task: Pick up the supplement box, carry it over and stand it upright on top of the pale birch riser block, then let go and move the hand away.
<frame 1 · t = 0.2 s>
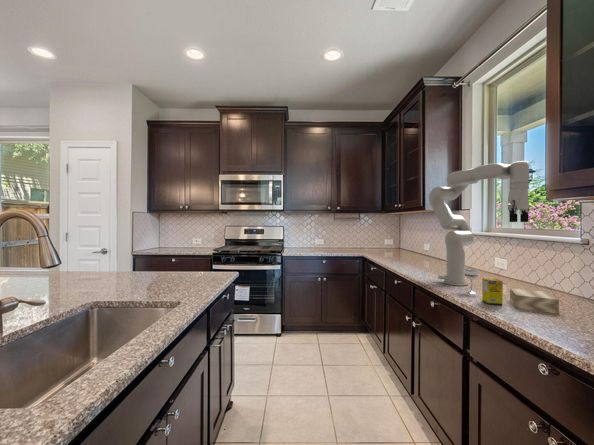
hand: (518, 221, 140), 37 cm above the counter, tool pointing down, fingers open, 9 cm apart
wineglass: (471, 292, 149), on the counter
riser block: (532, 307, 125), on the counter
supplement box: (492, 303, 129), on the counter
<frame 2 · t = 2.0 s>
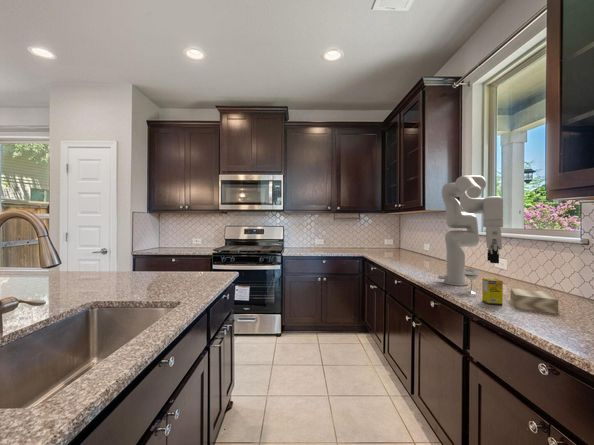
hand: (493, 261, 129), 19 cm above the counter, tool pointing down, fingers open, 9 cm apart
nothing on the counter moved.
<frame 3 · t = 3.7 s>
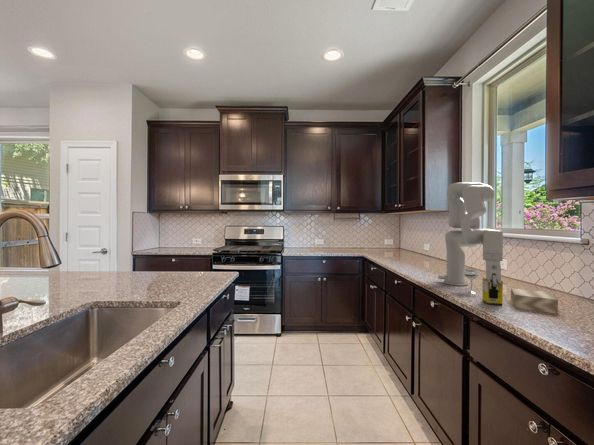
hand: (492, 295, 129), 3 cm above the counter, tool pointing down, fingers closed on supplement box, 7 cm apart
supplement box: (492, 303, 129), on the counter, touching gripper
everything else where it was.
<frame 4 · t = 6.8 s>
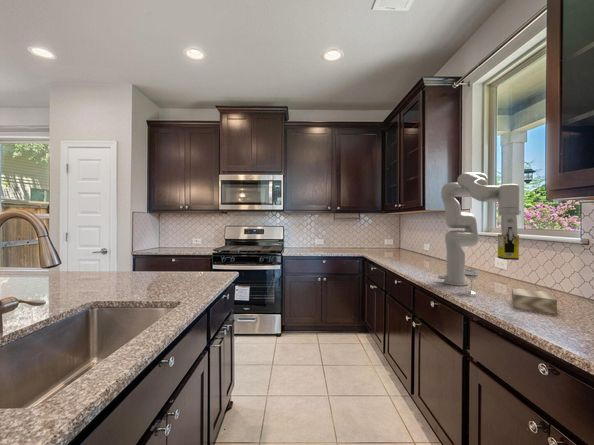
hand: (508, 251, 128), 24 cm above the counter, tool pointing down, fingers closed on supplement box, 7 cm apart
supplement box: (507, 259, 128), point 20 cm above the counter, touching gripper
everything else where it was.
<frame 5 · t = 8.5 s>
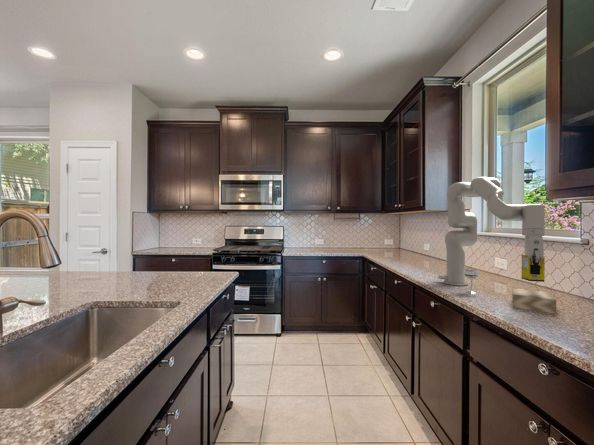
hand: (532, 272, 125), 15 cm above the counter, tool pointing down, fingers closed on supplement box, 7 cm apart
supplement box: (532, 280, 125), point 11 cm above the counter, touching gripper
everything else where it was.
when the fingers open (11 cm above the counter, at t = 9.8 s): supplement box drops 2 cm, point 5 cm above the counter.
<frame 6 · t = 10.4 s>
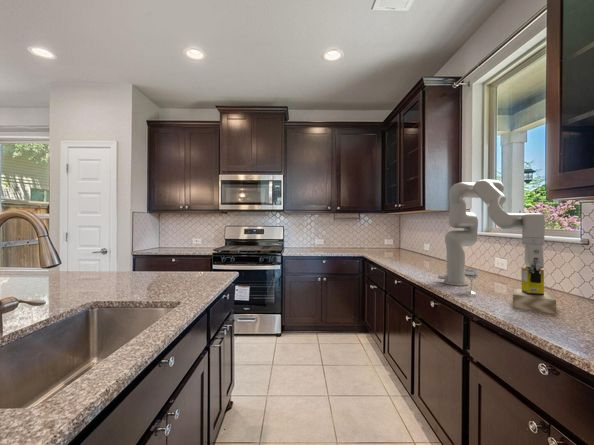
hand: (532, 280, 125), 11 cm above the counter, tool pointing down, fingers open, 9 cm apart
supplement box: (532, 293, 125), point 5 cm above the counter
everything else where it was.
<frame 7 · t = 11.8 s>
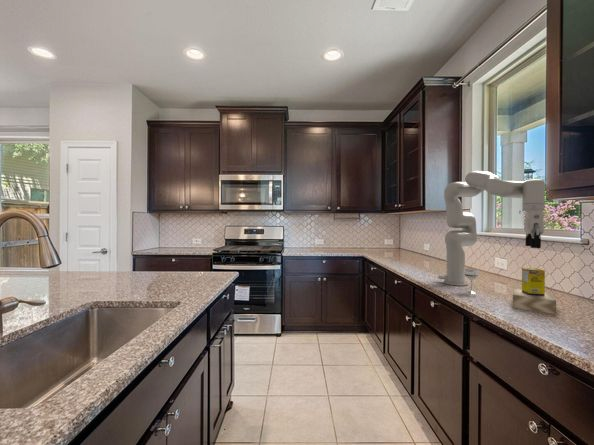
hand: (532, 247, 125), 26 cm above the counter, tool pointing down, fingers open, 9 cm apart
riser block: (532, 307, 125), on the counter, touching supplement box
supplement box: (532, 294, 125), point 5 cm above the counter, touching riser block
everything else where it was.
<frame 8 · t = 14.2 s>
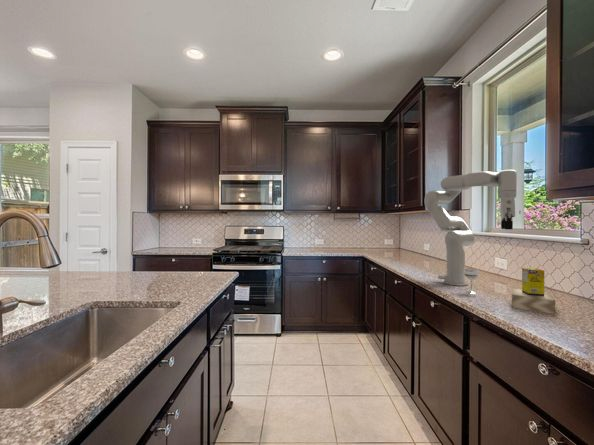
hand: (506, 229, 143), 33 cm above the counter, tool pointing down, fingers open, 9 cm apart
riser block: (531, 307, 125), on the counter
supplement box: (532, 294, 125), point 5 cm above the counter
everything else where it was.
at the end: supplement box inside the target area on the riser block (0.2 cm from its centre), point 5.9 cm above the riser block's base; supplement box tilted 1°; the gripper is holding nothing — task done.
